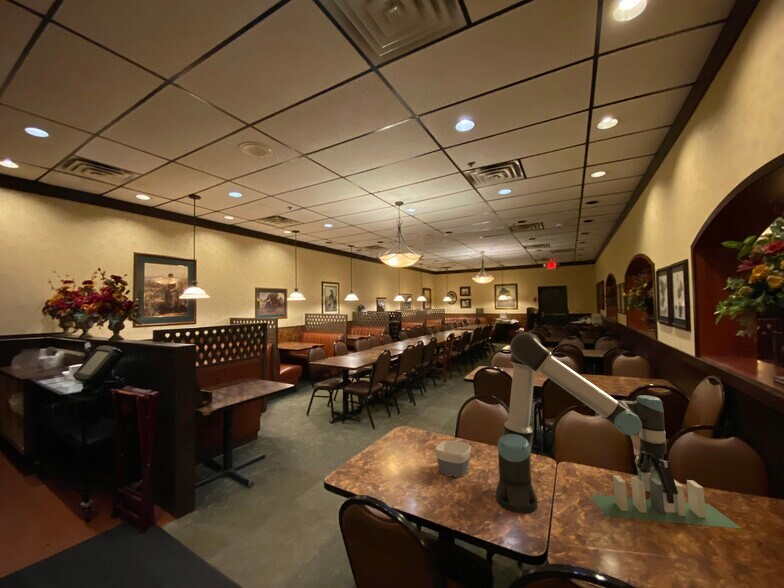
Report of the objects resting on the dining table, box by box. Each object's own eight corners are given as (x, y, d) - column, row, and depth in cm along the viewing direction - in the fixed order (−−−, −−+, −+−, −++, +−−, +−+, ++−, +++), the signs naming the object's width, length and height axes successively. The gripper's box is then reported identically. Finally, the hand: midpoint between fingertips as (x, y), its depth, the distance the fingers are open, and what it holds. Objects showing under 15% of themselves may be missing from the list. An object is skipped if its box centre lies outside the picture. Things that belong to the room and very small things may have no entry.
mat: (605, 517, 112) (605, 516, 112) (589, 495, 126) (589, 494, 126) (741, 529, 104) (741, 528, 104) (709, 505, 118) (708, 503, 118)
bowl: (475, 468, 151) (474, 444, 152) (464, 483, 138) (463, 456, 139) (445, 461, 159) (444, 438, 160) (431, 474, 146) (431, 449, 147)
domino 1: (621, 510, 115) (619, 481, 116) (614, 502, 120) (612, 475, 121) (627, 511, 115) (625, 482, 116) (620, 503, 120) (618, 475, 121)
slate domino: (659, 513, 113) (657, 484, 114) (651, 505, 118) (649, 477, 119) (666, 514, 113) (663, 484, 113) (657, 506, 117) (655, 477, 118)
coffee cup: (669, 496, 124) (666, 464, 125) (644, 495, 125) (641, 463, 126) (655, 485, 132) (653, 455, 133) (632, 483, 134) (630, 454, 135)
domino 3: (679, 515, 112) (676, 485, 112) (670, 507, 117) (667, 478, 117) (685, 516, 111) (683, 486, 112) (676, 507, 116) (673, 479, 117)
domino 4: (699, 517, 111) (696, 487, 111) (689, 508, 115) (686, 480, 116) (706, 517, 110) (703, 487, 111) (695, 509, 115) (692, 480, 116)
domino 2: (640, 512, 114) (638, 483, 115) (632, 504, 119) (630, 476, 120) (646, 512, 114) (644, 483, 115) (638, 504, 119) (636, 476, 119)
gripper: (688, 454, 104) (694, 523, 103) (645, 428, 128) (649, 483, 127) (661, 453, 106) (667, 520, 104) (624, 427, 130) (628, 482, 128)
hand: (657, 500), depth 115 cm, fingers open, 13 cm apart
